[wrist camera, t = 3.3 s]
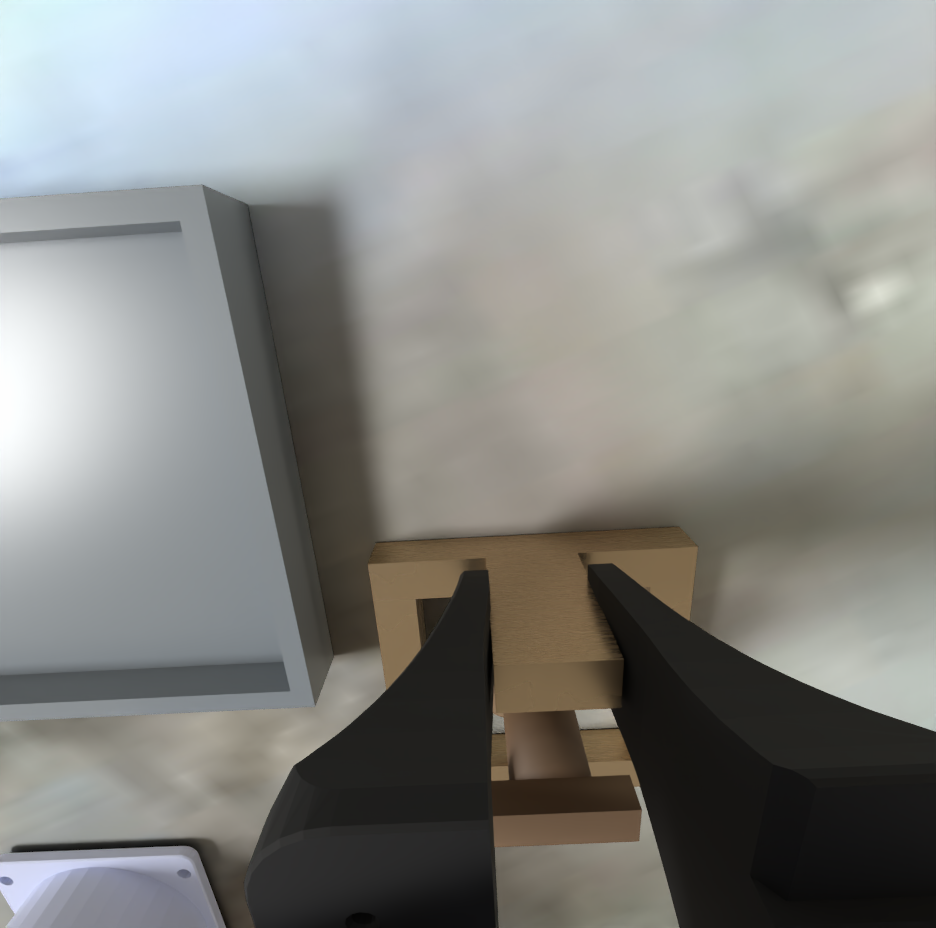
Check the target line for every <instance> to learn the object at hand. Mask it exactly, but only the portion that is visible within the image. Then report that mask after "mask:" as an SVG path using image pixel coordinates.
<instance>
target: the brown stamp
mask: <svg viewBox="0 0 936 928" xmlns="http://www.w3.org/2000/svg"><path fill="white" fill-rule="evenodd" d="M493 713H494V714H496V706H495V691H494V694H493ZM496 715H498V716H501V717H504V726H505V738H506V749H507V761H508V773H509V780H500V781H491V788H492V808H493V828H494V847H509V846H534V845H559V844H583V843H608V842H633V841H639V835H640V824H641V813H642V809H641V806H640V803H639V801H638V798H637V795H636V792H635V789H634V786H633V783H632V780H631V777H630V775H615V776H591V772H590V768H589V764H588V760H587V757H586V753H585V749H584V745H583V741H582V737H581V733H580V730H579V726H578V722H577V718H576V714H575V710H564V711H543V712H521V713H499V714H496Z"/></svg>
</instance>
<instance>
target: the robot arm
mask: <svg viewBox="0 0 936 928" xmlns="http://www.w3.org/2000/svg"><path fill="white" fill-rule="evenodd" d="M587 579H588V581H589V583H590V586H591V588H592V590H593V593H594V595H595V597H596V600H597V602H598V604H599V606H600V608H601V609H602V611H603V613H604V615H605V617H606V619H607V622H608V624H609V626H610V629H611V631H612V633H613V635H614V638H615V640H616V642H617V645H618V647H619V649H620V652H621V654H622V656H623V658H624V668H623V684H622V700H621V708H611V710H612V712H613V715H614V717H615V720H616V722H617V725H618V727H619V730H620V732H621V735H622V737H623V740H624V742H625V745H626V747H627V750H628V752H629V755H630V757H631V760H632V763H633V766H634V769H635V771H636V774H637V777H638V780H639V784H640V787H641V790H642V794H643V797H644V801H645V804H646V807H647V811H648V814H649V818H650V821H651V824H652V828H653V831H654V835H655V839H656V842H657V846H658V849H659V853H660V856H661V860H662V864H663V867H664V871H665V874H666V878H667V882H668V885H669V889H670V893H671V897H672V900H673V904H674V908H675V912H676V916H677V919H678V923H679V927H680V928H936V732H934V731H931V730H928V729H925V728H922V727H919V726H917V725H914V724H911V723H908V722H905V721H902V720H899V719H896V718H893V717H890V716H887V715H884V714H881V713H878V712H875V711H872V710H869V709H866V708H864V707H861V706H859V705H856V704H854V703H851V702H848V701H846V700H843V699H841V698H838V697H836V696H833V695H831V694H828V693H826V692H823V691H821V690H819V689H816V688H814V687H812V686H809V685H807V684H805V683H802V682H800V681H798V680H796V679H794V678H791V677H789V676H787V675H785V674H783V673H781V672H779V671H777V670H775V669H772V668H770V667H768V666H766V665H764V664H762V663H760V662H758V661H756V660H754V659H752V658H751V657H749V656H747V655H745V654H743V653H741V652H740V651H738V650H736V649H734V648H733V647H731V646H729V645H727V644H725V643H724V642H722V641H720V640H718V639H717V638H715V637H714V636H712V635H710V634H709V633H707V632H705V631H704V630H702V629H701V628H699V627H698V626H696V625H695V624H693V623H692V622H690V621H689V620H687V619H686V618H684V617H683V616H681V615H680V614H678V613H677V612H676V611H674V610H673V609H671V608H670V607H669V606H667V605H666V604H664V603H663V602H662V601H660V600H659V599H658V598H656V597H655V596H654V595H653V594H651V593H650V592H649V591H647V590H646V589H645V588H643V587H642V586H641V585H640V584H638V583H637V582H636V581H635V580H633V579H632V578H631V577H630V576H628V575H627V574H626V573H625V572H623V571H622V570H621V569H619V568H618V567H617V566H615V565H614V564H613V563H606V564H588V575H587ZM490 612H491V604H490V584H489V573H488V570H472V571H464V572H463V573H462V574H461V575H460V577H459V581H458V583H457V586H456V589H455V591H454V593H453V595H452V597H451V600H450V602H449V604H448V605H447V607H446V609H445V611H444V613H443V615H442V616H441V618H440V620H439V622H438V623H437V625H436V627H435V628H434V630H433V631H432V633H431V634H430V636H429V637H428V639H427V640H426V642H425V644H424V645H423V646H422V648H421V649H420V651H419V652H418V653H417V655H416V656H415V657H414V659H413V660H412V661H411V662H410V664H409V665H408V666H407V667H406V669H405V670H404V671H403V672H402V673H401V675H400V676H399V677H398V678H397V679H396V680H395V681H394V682H393V683H392V684H391V686H390V687H389V688H388V689H387V690H386V691H385V692H384V693H383V694H382V695H381V696H380V697H379V698H378V699H377V700H376V701H375V702H374V703H373V704H372V705H371V706H370V707H369V708H368V709H366V710H365V711H364V712H363V713H362V714H361V715H360V716H359V717H358V718H356V719H355V720H354V721H353V722H352V723H351V724H350V725H349V726H347V727H346V728H345V729H344V730H342V731H341V732H340V733H339V734H337V735H336V736H335V737H333V738H332V739H331V740H329V741H328V742H327V743H325V744H324V745H322V746H321V747H320V748H318V749H317V750H316V751H314V752H313V753H311V754H310V755H309V756H307V757H306V758H305V759H303V760H302V761H300V762H299V763H297V764H296V765H294V766H293V768H292V770H291V772H290V774H289V776H288V777H287V779H286V781H285V783H284V785H283V787H282V789H281V791H280V793H279V795H278V797H277V799H276V801H275V802H274V804H273V806H272V808H271V810H270V813H269V815H268V817H267V820H266V822H265V825H264V827H263V830H262V832H261V835H260V838H259V840H258V843H257V845H256V848H255V851H254V853H253V856H252V859H251V861H250V864H249V867H248V870H247V873H246V877H245V880H244V889H245V896H246V902H247V905H248V908H249V910H250V913H251V916H252V919H253V922H254V925H255V928H499V927H498V907H497V887H496V868H495V848H494V828H493V808H492V788H491V752H492V723H493V694H494V676H493V662H492V643H491V624H490ZM0 891H1V892H2V894H3V896H4V897H5V899H6V900H7V902H8V904H9V905H10V907H11V909H12V910H13V912H14V914H15V915H14V916H13V918H12V919H11V920H10V922H9V923H8V924H7V926H6V927H5V928H226V926H225V924H224V921H223V918H222V916H221V913H220V910H219V908H218V905H217V902H216V899H215V897H214V894H213V891H212V889H211V886H210V883H209V881H208V878H207V875H206V873H205V870H204V867H203V865H202V862H201V859H200V857H199V854H198V852H197V851H196V850H195V849H194V848H192V847H189V846H166V847H142V848H117V849H93V850H69V851H44V852H20V853H4V854H0Z"/></svg>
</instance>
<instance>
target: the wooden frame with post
mask: <svg viewBox="0 0 936 928" xmlns="http://www.w3.org/2000/svg"><path fill="white" fill-rule="evenodd" d="M697 552H698V546H697V545H696V544H695V543H694V542H693V541H692V540H691V539H690V538H689V537H688V536H687V534H686V533H685V532H684V531H683V530H682V529H681V528H680V527H663V528H644V529H626V530H607V531H588V532H570V533H551V534H532V535H514V536H495V537H476V538H457V539H439V540H420V541H401V542H383V543H376V544H375V546H374V549H373V552H372V554H371V557H370V560H369V562H368V569H369V576H370V583H371V590H372V596H373V603H374V610H375V616H376V623H377V630H378V636H379V643H380V650H381V657H382V663H383V670H384V677H385V683H386V690H387V689H388V688H389V687H390V686H391V684H392V683H393V682H394V681H395V680H396V679H397V678H398V677H399V676H400V675H401V673H402V672H403V671H404V670H405V669H406V667H407V666H408V665H409V664H410V662H411V661H412V660H413V659H414V657H415V656H416V655H417V653H418V652H419V651H420V649H421V648H422V646H423V645H424V644H425V642H426V640H427V639H426V630H425V621H424V611H423V602H422V599H426V598H446V597H452V595H453V593H454V591H455V589H456V586H457V583H458V581H459V577H460V575H461V574H462V573H463V572H464V571H472V570H488V573H489V584H490V604H491V612H490V624H491V643H492V662H493V676H494V691H495V706H496V714H499V713H521V712H543V711H564V710H586V709H608V708H621V700H622V684H623V668H624V658H623V656H622V654H621V652H620V649H619V647H618V645H617V642H616V640H615V638H614V635H613V633H612V631H611V629H610V626H609V624H608V622H607V619H606V617H605V615H604V613H603V611H602V609H601V608H600V606H599V604H598V602H597V600H596V597H595V595H594V593H593V590H592V588H591V586H590V583H589V581H588V579H587V575H588V564H606V563H613V564H614V565H615V566H617V567H618V568H619V569H621V570H622V571H623V572H625V573H626V574H627V575H628V576H630V577H631V578H632V579H633V580H635V581H636V582H637V583H638V584H640V585H641V586H642V587H643V588H645V589H646V590H647V591H649V592H650V593H651V594H653V595H654V596H655V597H656V598H658V599H659V600H660V601H662V602H663V603H664V604H666V605H667V606H669V607H670V608H671V609H673V610H674V611H676V612H677V613H678V614H680V615H681V616H683V617H684V618H686V619H687V620H689V621H690V612H691V604H692V595H693V586H694V578H695V569H696V560H697ZM580 733H581V737H582V741H583V745H584V749H585V753H586V757H587V760H588V764H589V768H590V772H591V776H615V775H630V777H631V780H632V783H633V786H634V787H637V786H640V784H639V780H638V777H637V774H636V771H635V769H634V766H633V763H632V760H631V757H630V755H629V752H628V750H627V747H626V745H625V742H624V740H623V737H622V735H621V732H620V730H619V729H603V730H581V731H580ZM500 780H509V773H508V761H507V749H506V738H505V734H493V735H492V752H491V781H500Z"/></svg>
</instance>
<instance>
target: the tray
mask: <svg viewBox="0 0 936 928" xmlns="http://www.w3.org/2000/svg"><path fill="white" fill-rule="evenodd" d="M333 658H334V655H333V650H332V645H331V639H330V634H329V629H328V624H327V619H326V613H325V608H324V603H323V598H322V592H321V587H320V582H319V577H318V571H317V566H316V561H315V556H314V550H313V545H312V540H311V535H310V529H309V524H308V519H307V514H306V508H305V503H304V498H303V493H302V487H301V482H300V477H299V472H298V467H297V461H296V456H295V451H294V446H293V440H292V435H291V430H290V425H289V419H288V414H287V409H286V404H285V398H284V393H283V388H282V383H281V377H280V372H279V367H278V362H277V356H276V351H275V346H274V341H273V336H272V330H271V325H270V320H269V315H268V309H267V304H266V299H265V294H264V288H263V283H262V278H261V273H260V267H259V262H258V257H257V252H256V246H255V241H254V236H253V231H252V225H251V220H250V215H249V210H248V205H247V204H245V203H243V202H241V201H238V200H236V199H234V198H231V197H229V196H227V195H225V194H222V193H220V192H218V191H215V190H213V189H211V188H208V187H206V186H204V185H190V186H175V187H161V188H146V189H132V190H117V191H103V192H88V193H73V194H59V195H44V196H30V197H15V198H1V199H0V721H20V720H41V719H63V718H84V717H105V716H127V715H148V714H170V713H191V712H212V711H234V710H255V709H277V708H298V707H315V705H316V703H317V700H318V697H319V695H320V692H321V690H322V687H323V684H324V682H325V679H326V676H327V674H328V671H329V668H330V666H331V663H332V660H333Z"/></svg>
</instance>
